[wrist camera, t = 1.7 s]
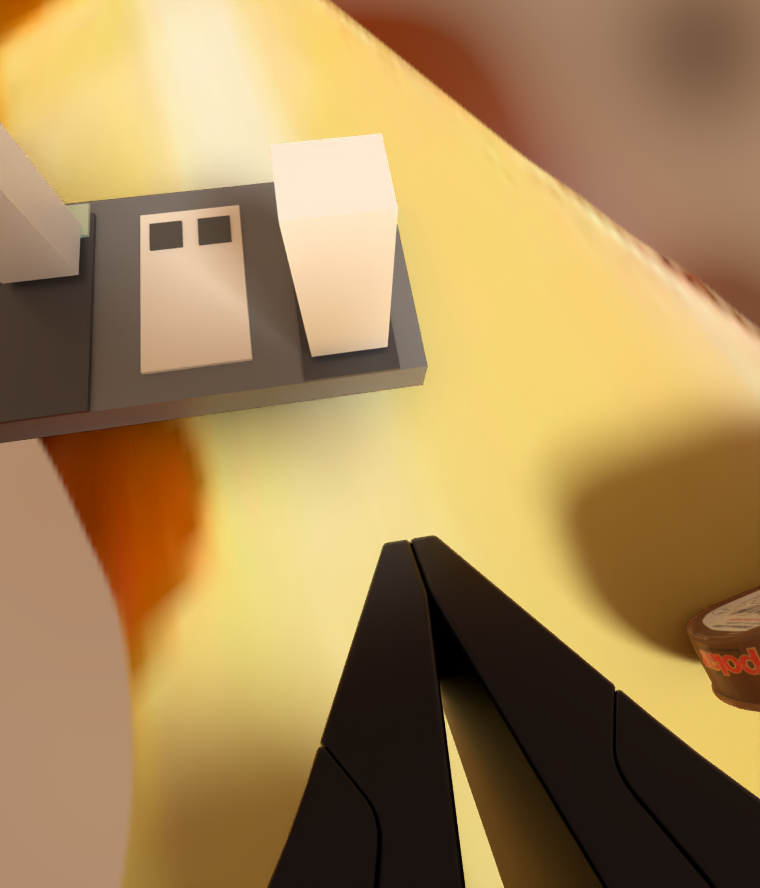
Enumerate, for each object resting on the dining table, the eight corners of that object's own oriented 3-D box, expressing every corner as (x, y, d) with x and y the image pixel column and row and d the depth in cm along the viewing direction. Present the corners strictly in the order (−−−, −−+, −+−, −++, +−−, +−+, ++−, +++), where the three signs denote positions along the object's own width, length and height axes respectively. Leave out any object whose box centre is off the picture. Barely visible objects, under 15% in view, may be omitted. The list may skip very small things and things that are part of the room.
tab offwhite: (387, 346, 21) (398, 208, 13) (311, 356, 21) (278, 221, 13) (377, 292, 22) (381, 133, 14) (304, 301, 22) (269, 144, 14)
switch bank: (422, 384, 23) (428, 362, 21) (-10, 444, 22) (-53, 427, 20) (384, 200, 27) (385, 164, 25) (11, 240, 25) (-24, 207, 23)
